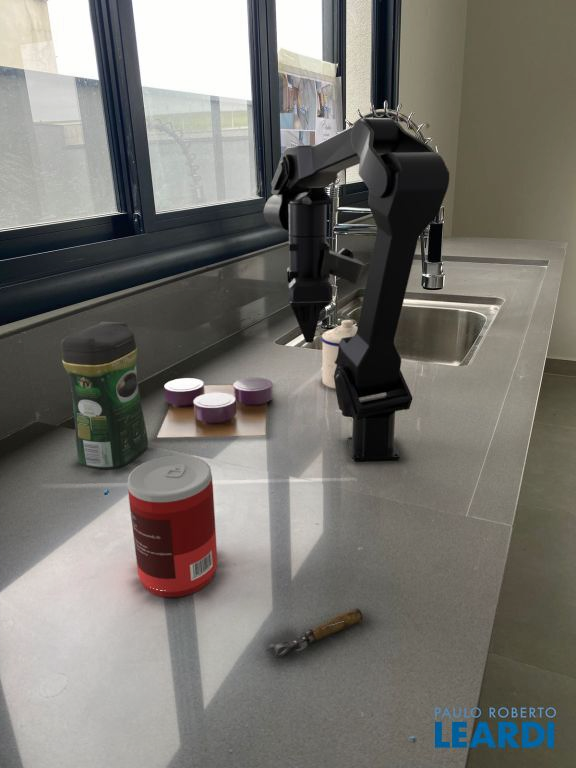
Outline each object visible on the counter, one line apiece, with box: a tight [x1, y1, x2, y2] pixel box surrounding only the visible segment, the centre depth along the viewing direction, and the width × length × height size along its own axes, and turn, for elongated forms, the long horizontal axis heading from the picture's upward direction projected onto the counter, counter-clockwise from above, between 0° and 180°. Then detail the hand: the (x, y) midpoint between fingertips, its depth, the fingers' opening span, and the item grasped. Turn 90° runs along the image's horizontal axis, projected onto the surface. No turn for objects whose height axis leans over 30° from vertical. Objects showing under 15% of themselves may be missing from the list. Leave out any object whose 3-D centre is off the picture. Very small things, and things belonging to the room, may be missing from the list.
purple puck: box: [232, 377, 274, 406], centre depth 101 cm, size 7×7×3 cm
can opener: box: [265, 608, 364, 658], centre depth 51 cm, size 9×2×1 cm, turn 113°
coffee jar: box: [60, 321, 149, 470], centre depth 81 cm, size 10×8×19 cm
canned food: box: [127, 454, 218, 598], centre depth 58 cm, size 8×8×11 cm
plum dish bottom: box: [193, 393, 236, 424], centre depth 95 cm, size 7×7×3 cm
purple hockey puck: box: [163, 377, 205, 406], centre depth 101 cm, size 7×7×3 cm
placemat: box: [156, 384, 268, 439], centre depth 99 cm, size 22×16×1 cm
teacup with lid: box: [320, 319, 358, 390], centre depth 109 cm, size 12×9×12 cm
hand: (308, 334), depth 97 cm, fingers open, 9 cm apart
